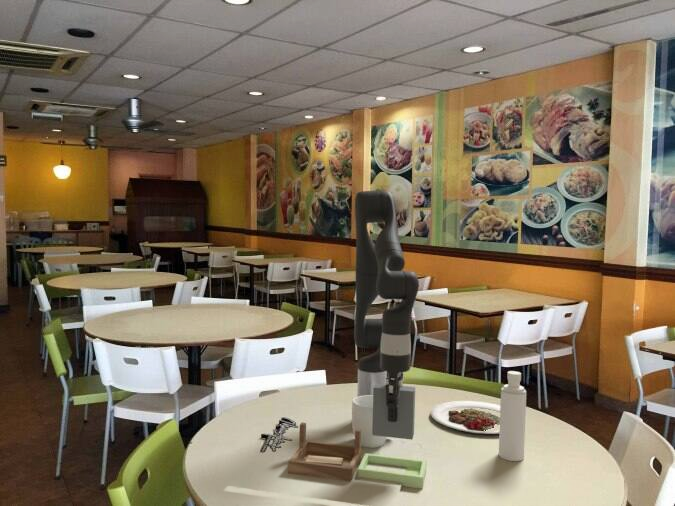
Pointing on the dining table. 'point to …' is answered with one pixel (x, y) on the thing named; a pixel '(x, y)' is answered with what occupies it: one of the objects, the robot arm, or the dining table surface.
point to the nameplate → (278, 434)
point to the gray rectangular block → (404, 413)
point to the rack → (313, 448)
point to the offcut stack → (325, 460)
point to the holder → (410, 478)
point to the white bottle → (512, 419)
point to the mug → (365, 421)
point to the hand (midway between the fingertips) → (393, 417)
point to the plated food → (467, 416)
